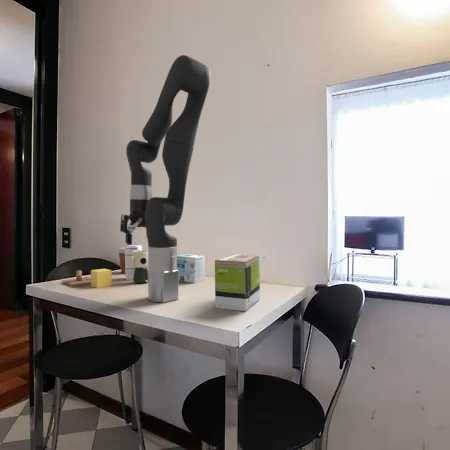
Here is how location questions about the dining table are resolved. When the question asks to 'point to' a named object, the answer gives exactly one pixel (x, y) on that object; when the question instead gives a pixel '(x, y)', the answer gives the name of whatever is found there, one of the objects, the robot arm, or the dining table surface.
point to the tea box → (237, 282)
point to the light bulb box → (191, 268)
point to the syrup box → (128, 267)
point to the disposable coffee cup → (122, 259)
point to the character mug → (140, 265)
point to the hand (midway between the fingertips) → (140, 244)
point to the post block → (78, 280)
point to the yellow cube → (101, 278)
